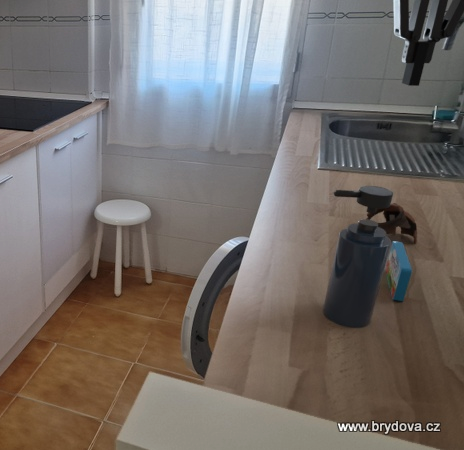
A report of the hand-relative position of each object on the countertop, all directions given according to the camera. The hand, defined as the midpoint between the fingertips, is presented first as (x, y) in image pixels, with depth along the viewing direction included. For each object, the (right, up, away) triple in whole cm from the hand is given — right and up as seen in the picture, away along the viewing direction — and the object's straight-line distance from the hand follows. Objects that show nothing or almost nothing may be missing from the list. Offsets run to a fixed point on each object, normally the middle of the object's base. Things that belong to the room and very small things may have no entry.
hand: (410, 84), depth 87 cm
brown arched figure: (+14, -25, +28) cm, 41 cm away
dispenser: (-10, -37, 0) cm, 39 cm away
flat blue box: (+3, -34, +9) cm, 35 cm away
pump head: (-12, -21, -7) cm, 25 cm away
